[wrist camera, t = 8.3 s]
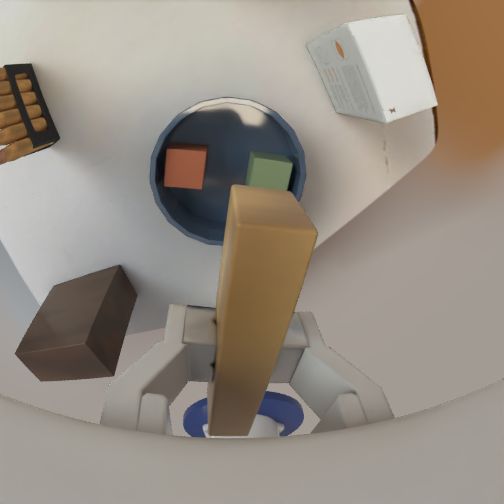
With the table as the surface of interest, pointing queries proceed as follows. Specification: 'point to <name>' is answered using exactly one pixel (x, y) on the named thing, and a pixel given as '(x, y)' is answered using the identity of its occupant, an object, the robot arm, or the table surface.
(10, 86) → the ammunition clip
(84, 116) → the table surface
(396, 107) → the small box
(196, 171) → the block
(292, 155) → the bowl
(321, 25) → the table surface
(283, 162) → the block
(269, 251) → the tan wooden bar
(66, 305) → the brown thick block
